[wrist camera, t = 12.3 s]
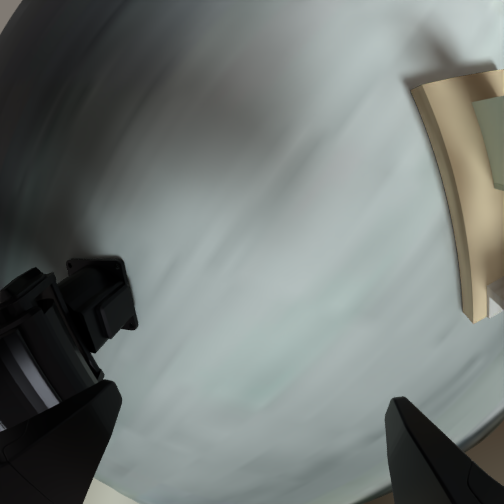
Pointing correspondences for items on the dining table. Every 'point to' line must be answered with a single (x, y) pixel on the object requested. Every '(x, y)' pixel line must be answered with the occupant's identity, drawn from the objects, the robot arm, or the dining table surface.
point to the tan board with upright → (468, 184)
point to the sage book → (493, 134)
